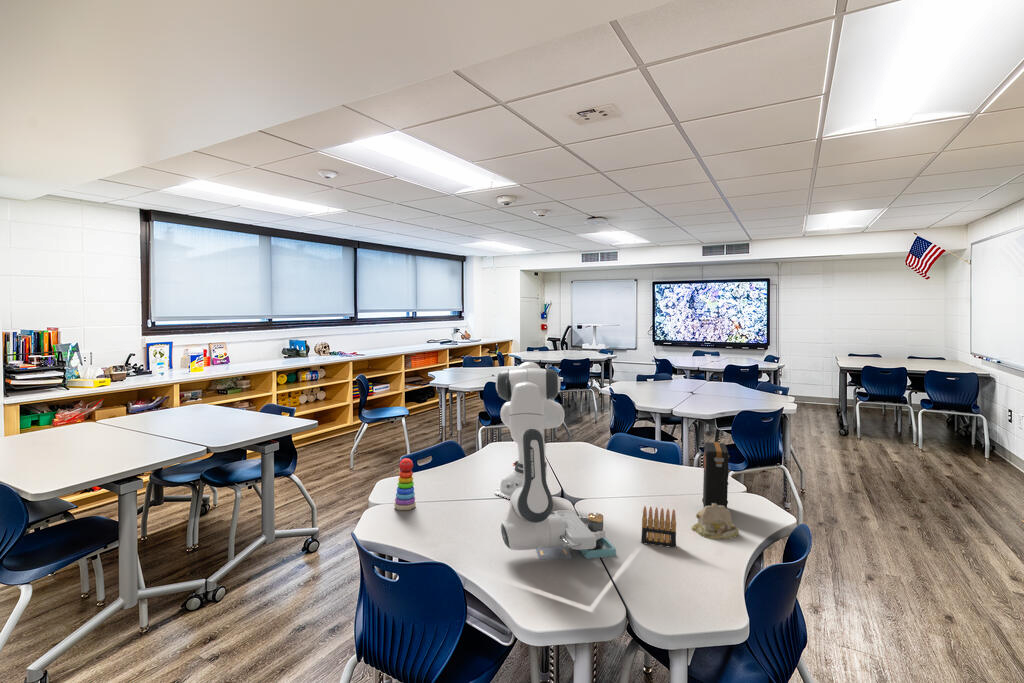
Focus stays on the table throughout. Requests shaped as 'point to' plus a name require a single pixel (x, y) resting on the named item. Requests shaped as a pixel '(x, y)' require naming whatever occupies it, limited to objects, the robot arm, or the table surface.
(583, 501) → the table surface
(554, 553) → the checker cradle
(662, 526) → the ammunition clip
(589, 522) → the cell
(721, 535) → the ceramic model
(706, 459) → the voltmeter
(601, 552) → the teal square frame
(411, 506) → the stacking toy
